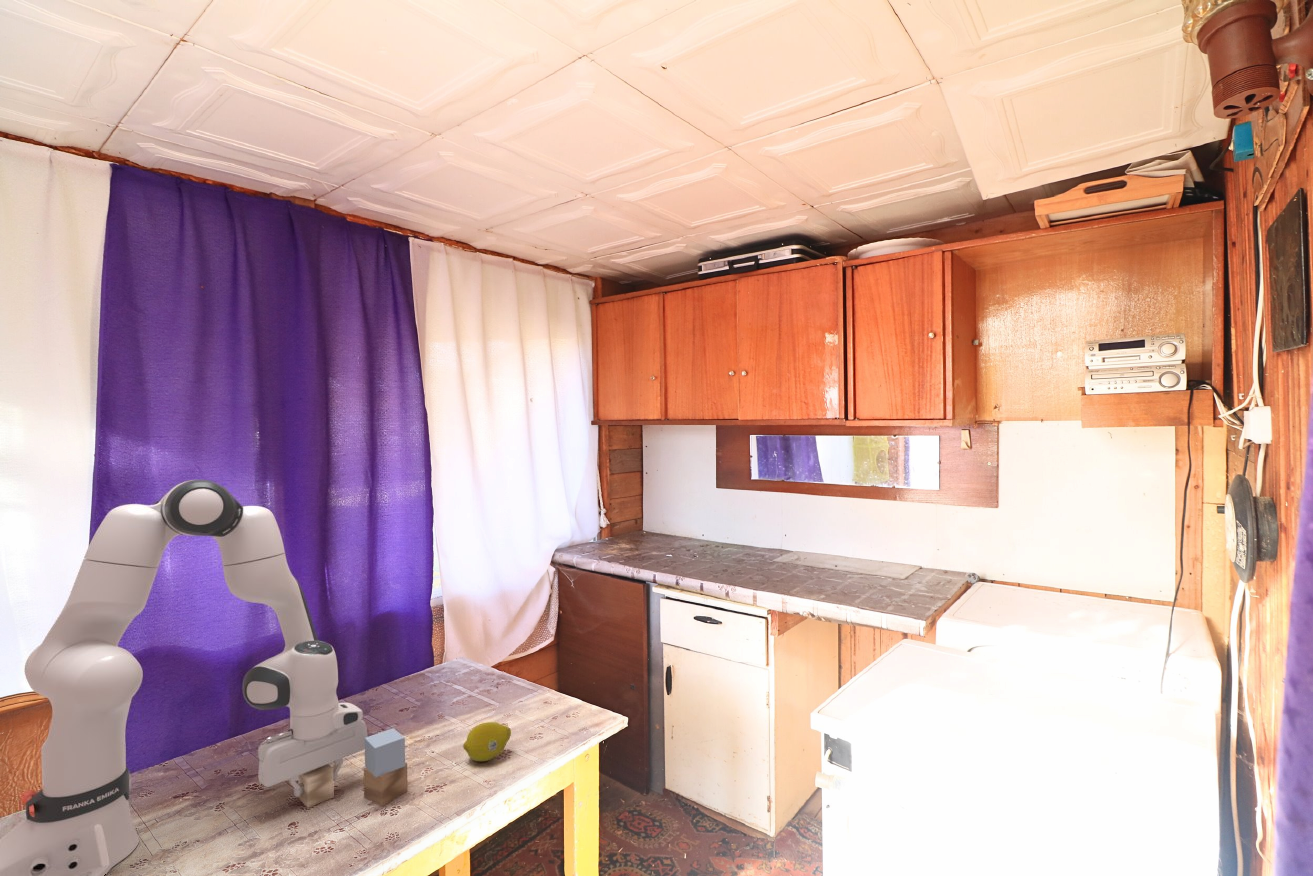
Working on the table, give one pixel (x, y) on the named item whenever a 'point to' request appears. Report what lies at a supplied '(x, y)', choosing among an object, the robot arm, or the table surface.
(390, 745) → the top block
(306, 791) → the maple block
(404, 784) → the bottom block
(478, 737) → the lemon
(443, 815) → the table surface
